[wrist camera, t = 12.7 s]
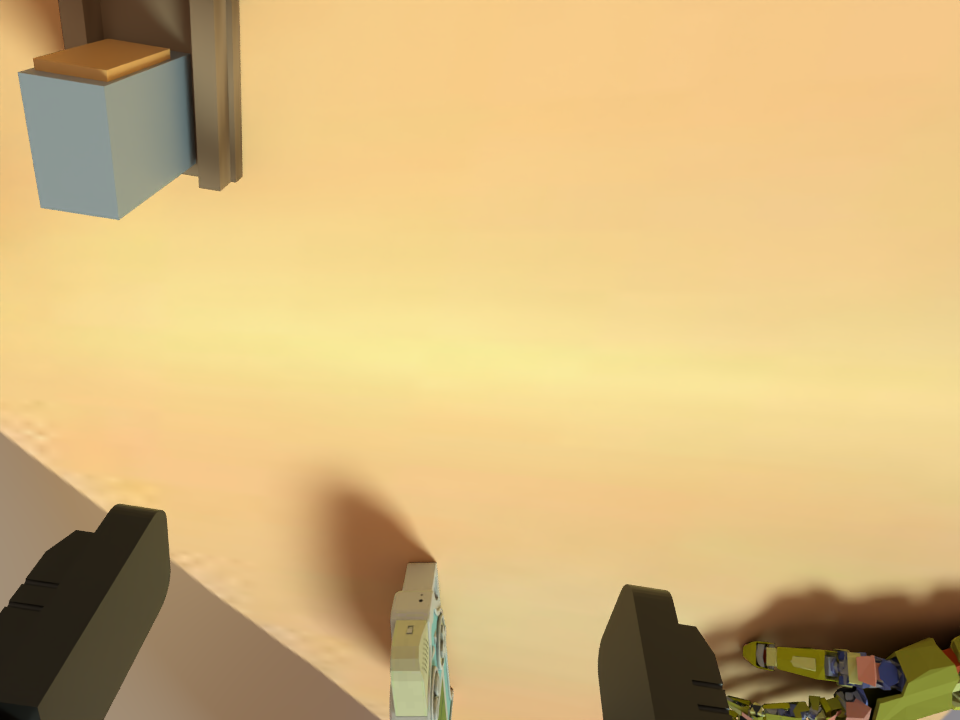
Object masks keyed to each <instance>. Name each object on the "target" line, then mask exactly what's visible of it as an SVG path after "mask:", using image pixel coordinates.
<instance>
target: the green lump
mask: <svg viewBox="0 0 960 720" xmlns="http://www.w3.org/2000/svg"><path fill="white" fill-rule="evenodd" d="M767 645H769V647H767ZM743 656H744V659H745V660H747V661H748V662H749V663H751V664H752V665H753V666H755V667H757V668H760V669H765V670H769V671H775V670H774V666H776V667H777V669H779V670H783V671H787V672H791V673H795V674H798V675H802V676H806V677H810V678H814V679H818V680H829V681H836V682H837V686H842V688H840V689H838V690H837V691H836V692H835V694H834V698H831V699H828V700H826V699H825V697H824V698H820V697H818V696H809V706H807V704H806V702H788V703H771V704H764V705H762V706H761V705H759V704H757V703H756V702H754V704H752V703H751V702H750V701H748V700H744V699H740V698H736V697H732V696H727V701H728V705H729V707H730V708H731V709H732V710H729V715H731V716H732V720H737V719H736V717H738V720H806V718H807V717H808V719H809V720H916V719H920V718H923V717H926V716H930V715H933V714H936V713H939V712H943V711H946V710H949V709H953V710H960V635H959V636H957V637H956V638H954V639H953V640H952V641H951V646H950V647H948V648H947V649H946V650H941V649H940V648H939V647H938V646H937V645H936V643H935V641H934V639H933V638H929V637H928V638H926V639H924V640H921V641H919V642H917V643H914V644H912V645H910V646H907V647H905V648H902V649H900V650H898V651H895V652H894V653H892V654H891V655H890V656H889V657H887V658H886V659H884V658H883V659H882V658H879V657H876V656H874V655H872V656H866V653H864V652H855V653H853V652H850V651H849V650H848V649H833V651H830V650H820V649H813V648H790V647H777V648H775V644H773V643H769V642H760V641H755V642H750V643H747V644H744V646H743ZM767 666H769V667H767ZM830 679H831V680H830ZM736 702H737V703H736ZM751 704H752V705H751ZM749 705H751V707H749ZM819 705H820V706H819ZM762 707H763V708H764V711H763V712H762ZM733 710H734V711H733ZM785 710H788V711H785Z"/></svg>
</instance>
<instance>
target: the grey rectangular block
mask: <svg viewBox="0 0 960 720" xmlns="http://www.w3.org/2000/svg"><path fill="white" fill-rule="evenodd" d="M33 61H34V68H31V69H28V70H24V71H21V72H18V76H19V82H20V88H21V94H22V100H23V106H24V112H25V118H26V123H27V129H28V135H29V141H30V147H31V153H32V159H33V165H34V171H35V176H36V182H37V188H38V194H39V200H40V206H41V208H45V209H52V210H58V211H65V212H71V213H78V214H84V215H91V216H97V217H104V218H110V219H116V220H120V219H121V218H122V217H124V216H125V215H126V214H128V213H129V212H130V211H132V210H133V209H135V208H136V207H137V206H139V205H140V204H141V203H143V202H144V201H145V200H147V199H148V198H149V197H151V196H152V195H154V194H155V193H156V192H158V191H159V190H160V189H162V188H163V187H164V186H166V185H167V184H169V183H170V182H171V181H173V180H174V179H175V178H177V177H178V176H179V175H181V174H182V173H183V172H185V171H186V170H188V169H189V168H190V167H192V166H193V165H194V164H196V153H195V134H194V115H193V96H192V77H191V58H190V54H189V53H183V52H177V51H171V50H170V49H168V48H162V47H156V46H150V45H144V44H138V43H132V42H126V41H120V40H114V39H104V40H101V41H97V42H93V43H89V44H85V45H82V46H78V47H74V48H70V49H66V50H63V51H59V52H55V53H51V54H47V55H44V56H40V57H36V58H33Z"/></svg>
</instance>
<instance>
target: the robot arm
mask: <svg viewBox="0 0 960 720" xmlns="http://www.w3.org/2000/svg"><path fill="white" fill-rule="evenodd" d="M169 581H170V557H169V543H168V529H167V518H166V513H165V512H164V511H163V510H157V509H150V508H144V507H137V506H131V505H125V504H117V505H115V506H114V507H113V508H112V509H111V510H110V511H109V513H108V514H107V515H106V517H105V518H104V520H103V521H102V523H101V524H100V526H99V527H98V529H97V530H96V532H95V533H92V532H85V531H79V530H76V531H74V532H73V533H71V534H70V535H69V536H67V537H66V538H65V539H63V540H62V541H60V542H59V543H57V544H56V545H55V546H53V547H52V548H50V549H49V550H48V551H46V552H45V554H44V555H43V556H42V558H41V559H40V560H39V562H38V563H37V564H36V566H35V567H34V568H33V570H32V571H31V573H30V574H29V575H28V576H27V578H26V581H25V583H24V584H21V586H20V587H19V589H18V590H17V591H16V593H15V594H14V595H13V596H12V598H11V599H10V601H9V605H8V606H7V607H4V609H3V610H2V611H1V613H0V720H104V718H105V716H106V714H107V712H108V710H109V708H110V706H111V704H112V702H113V700H114V699H115V697H116V695H117V693H118V691H119V689H120V687H121V685H122V683H123V681H124V679H125V677H126V675H127V673H128V671H129V669H130V667H131V666H132V664H133V662H134V660H135V658H136V656H137V654H138V652H139V650H140V648H141V646H142V644H143V642H144V640H145V638H146V636H147V635H148V633H149V631H150V629H151V627H152V625H153V623H154V621H155V619H156V617H157V615H158V613H159V611H160V609H161V607H162V605H163V603H164V600H165V597H166V594H167V590H168V586H169ZM598 677H599V686H600V694H601V703H602V712H603V720H732V716H731V715H729V705H728V701H727V698H726V694H725V690H723V689H722V685H723V683H722V680H721V676H720V672H719V669H718V665H717V661H716V658H715V654H714V653H713V651H712V650H711V648H710V647H709V645H708V644H707V642H706V641H705V639H704V638H703V637H702V635H701V634H700V632H699V631H698V629H697V628H696V627H695V626H688V625H682V624H678V620H677V615H676V611H675V607H674V603H673V599H672V596H671V594H670V593H669V592H668V591H666V590H660V589H654V588H648V587H641V586H635V585H628V584H626V585H625V586H624V587H623V588H622V590H621V592H620V595H619V597H618V600H617V602H616V605H615V607H614V610H613V612H612V614H611V617H610V619H609V622H608V624H607V627H606V629H605V632H604V634H603V637H602V639H601V643H600V648H599V656H598Z"/></svg>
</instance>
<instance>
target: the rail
mask: <svg viewBox="0 0 960 720" xmlns="http://www.w3.org/2000/svg"><path fill="white" fill-rule="evenodd" d="M58 3H59V10H60V18H61V25H62V32H63V40H64V47H65V50H66V49H70V48H74V47H78V46H82V45H85V44H89V43H93V42H97V41H101V40H104V39H114V40H120V41H126V42H132V43H138V44H144V45H150V46H156V47H162V48H168V49H170V50H171V51H177V52H183V53H189V54H190V58H191V77H192V96H193V115H194V134H195V153H196V164H194V165H193V166H192V167H190V168H189V169H188V170H186V171H185V172H183V173H182V174H185V175H191V176H198V177H199V188H203V189H210V190H216V191H221V190H222V189H223V188H224V187H226V186H227V185H228V184H229V183H230V182H237V181H238V180H239V179H240V178H241V177H242V127H241V74H240V22H239V0H58Z"/></svg>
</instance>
